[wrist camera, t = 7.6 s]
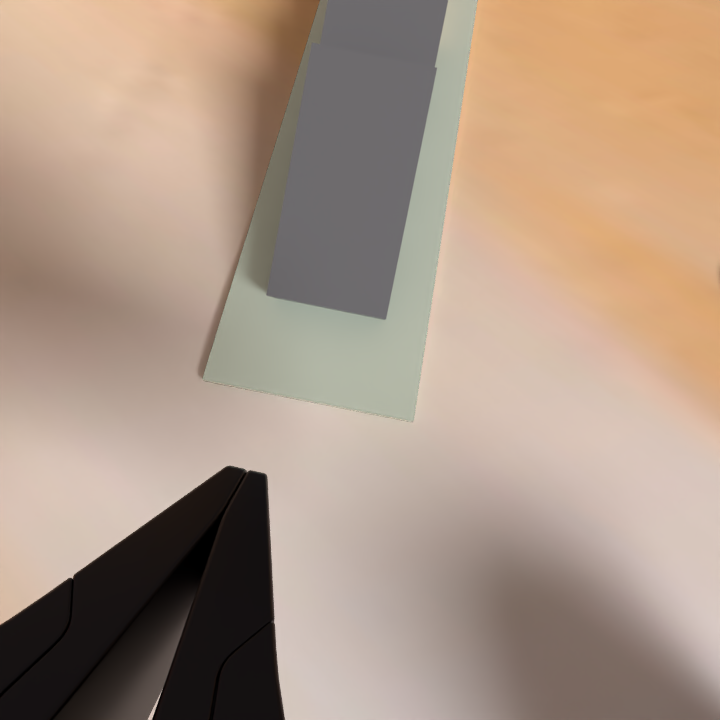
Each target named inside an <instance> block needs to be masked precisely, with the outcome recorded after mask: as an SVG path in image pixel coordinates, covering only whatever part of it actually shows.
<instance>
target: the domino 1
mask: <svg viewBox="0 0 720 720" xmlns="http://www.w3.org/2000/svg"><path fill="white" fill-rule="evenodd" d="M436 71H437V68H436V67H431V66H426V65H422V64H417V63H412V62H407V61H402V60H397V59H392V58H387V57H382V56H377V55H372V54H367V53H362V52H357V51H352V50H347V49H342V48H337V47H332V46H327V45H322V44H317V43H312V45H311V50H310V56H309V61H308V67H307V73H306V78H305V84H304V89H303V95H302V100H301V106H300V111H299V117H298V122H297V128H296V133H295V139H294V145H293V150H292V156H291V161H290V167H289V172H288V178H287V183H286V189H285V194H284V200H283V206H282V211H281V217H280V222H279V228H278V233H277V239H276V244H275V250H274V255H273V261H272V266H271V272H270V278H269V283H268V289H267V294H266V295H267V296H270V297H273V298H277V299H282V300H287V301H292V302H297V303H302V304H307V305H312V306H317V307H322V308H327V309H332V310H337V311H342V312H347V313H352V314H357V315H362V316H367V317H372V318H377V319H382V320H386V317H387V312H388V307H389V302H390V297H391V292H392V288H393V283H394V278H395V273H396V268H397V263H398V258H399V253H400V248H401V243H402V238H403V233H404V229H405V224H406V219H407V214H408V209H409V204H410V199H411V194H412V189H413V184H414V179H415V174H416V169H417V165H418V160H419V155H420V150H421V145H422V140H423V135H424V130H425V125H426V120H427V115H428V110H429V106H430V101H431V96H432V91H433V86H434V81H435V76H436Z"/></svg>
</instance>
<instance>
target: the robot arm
mask: <svg viewBox="0 0 720 720" xmlns="http://www.w3.org/2000/svg"><path fill="white" fill-rule="evenodd" d="M162 689H163V690H162ZM161 691H162V693H161ZM160 693H161V696H160V699H159V701H158V704H157V707H156V710H155V713H154V716H153V719H152V720H285V717H284V710H283V704H282V697H281V690H280V684H279V676H278V664H277V652H276V636H275V624H274V600H273V580H272V560H271V540H270V520H269V500H268V480H267V475H266V474H265V473H260V472H256V471H252V470H250V471H248V472H247V471H246V470H245V469H243V468H238V467H234V466H227V467H225V468H223V469H222V470H221V471H219V472H218V473H216V474H215V475H213V476H212V477H211V478H209V479H208V480H206V481H205V482H204V483H202V484H201V485H199V486H198V487H197V488H195V489H194V490H192V491H191V492H190V493H188V494H187V495H185V496H184V497H183V498H181V499H180V500H178V501H177V502H176V503H174V504H173V505H171V506H170V507H168V508H167V509H166V510H164V511H163V512H161V513H160V514H159V515H157V516H156V517H154V518H153V519H152V520H150V521H149V522H147V523H146V524H145V525H143V526H142V527H140V528H139V529H138V530H136V531H135V532H133V533H132V534H131V535H129V536H128V537H126V538H125V539H124V540H122V541H121V542H119V543H118V544H116V545H115V546H114V547H112V548H111V549H109V550H108V551H107V552H105V553H104V554H102V555H101V556H100V557H98V558H97V559H95V560H94V561H93V562H91V563H90V564H88V565H87V566H86V567H84V568H83V569H81V570H80V571H79V572H77V573H76V574H74V576H73V579H72V578H68V579H67V580H66V581H64V582H63V583H61V584H60V585H59V586H57V587H56V588H54V589H53V590H51V591H50V592H49V593H47V594H46V595H44V596H43V597H41V598H40V599H38V600H37V601H36V602H34V603H33V604H31V605H30V606H28V607H27V608H25V609H24V610H22V611H21V612H19V613H18V614H16V615H15V616H13V617H12V618H10V619H9V620H7V621H6V622H4V623H3V624H1V625H0V720H147V719H148V717H149V715H150V713H151V711H152V709H153V707H154V705H155V703H156V701H157V699H158V697H159V695H160Z"/></svg>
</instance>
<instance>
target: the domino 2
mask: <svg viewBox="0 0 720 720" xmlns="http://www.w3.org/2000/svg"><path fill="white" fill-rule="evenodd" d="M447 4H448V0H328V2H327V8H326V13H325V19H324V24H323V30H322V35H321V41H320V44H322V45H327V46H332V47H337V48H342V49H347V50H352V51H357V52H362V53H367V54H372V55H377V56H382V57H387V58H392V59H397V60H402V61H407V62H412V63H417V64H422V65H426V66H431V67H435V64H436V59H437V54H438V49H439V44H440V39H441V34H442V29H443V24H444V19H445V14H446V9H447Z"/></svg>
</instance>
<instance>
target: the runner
mask: <svg viewBox="0 0 720 720" xmlns="http://www.w3.org/2000/svg"><path fill="white" fill-rule="evenodd" d="M477 1H478V0H448V4H447V9H446V14H445V19H444V24H443V29H442V34H441V39H440V44H439V49H438V54H437V59H436V64H435V67H436V68H437V71H436V76H435V81H434V86H433V91H432V96H431V101H430V106H429V110H428V115H427V120H426V125H425V130H424V135H423V140H422V145H421V150H420V155H419V160H418V165H417V169H416V174H415V179H414V184H413V189H412V194H411V199H410V204H409V209H408V214H407V219H406V224H405V229H404V233H403V238H402V243H401V248H400V253H399V258H398V263H397V268H396V273H395V278H394V283H393V288H392V292H391V297H390V302H389V307H388V312H387V317H386V320H382V319H377V318H372V317H367V316H362V315H357V314H352V313H347V312H342V311H337V310H332V309H327V308H322V307H317V306H312V305H307V304H302V303H297V302H292V301H287V300H282V299H277V298H273V297H270V296H267V295H266V294H267V289H268V283H269V278H270V272H271V266H272V261H273V255H274V250H275V244H276V239H277V233H278V228H279V222H280V217H281V211H282V206H283V200H284V194H285V189H286V183H287V178H288V172H289V167H290V161H291V156H292V150H293V145H294V139H295V133H296V128H297V122H298V117H299V111H300V106H301V100H302V95H303V89H304V84H305V78H306V73H307V67H308V61H309V56H310V50H311V45H312V43H317V44H320V41H321V35H322V30H323V24H324V19H325V13H326V8H327V2H328V0H320V2H319V5H318V8H317V12H316V15H315V18H314V21H313V24H312V28H311V31H310V34H309V37H308V41H307V44H306V47H305V50H304V53H303V57H302V60H301V63H300V66H299V69H298V73H297V76H296V79H295V82H294V86H293V89H292V92H291V95H290V98H289V102H288V105H287V108H286V111H285V114H284V118H283V121H282V124H281V127H280V131H279V134H278V137H277V140H276V143H275V147H274V150H273V153H272V156H271V159H270V163H269V166H268V169H267V172H266V176H265V179H264V182H263V185H262V188H261V192H260V195H259V198H258V201H257V204H256V208H255V211H254V214H253V217H252V221H251V224H250V227H249V230H248V233H247V237H246V240H245V243H244V246H243V249H242V253H241V256H240V259H239V262H238V266H237V269H236V272H235V275H234V278H233V282H232V285H231V288H230V291H229V294H228V298H227V301H226V304H225V307H224V311H223V314H222V317H221V320H220V323H219V327H218V330H217V333H216V336H215V339H214V343H213V346H212V349H211V352H210V356H209V359H208V362H207V365H206V368H205V372H204V375H203V378H202V379H203V380H204V381H207V382H212V383H217V384H222V385H228V386H233V387H238V388H243V389H248V390H253V391H258V392H263V393H268V394H273V395H278V396H283V397H288V398H293V399H298V400H303V401H308V402H313V403H318V404H323V405H328V406H333V407H338V408H343V409H348V410H353V411H358V412H363V413H368V414H373V415H378V416H383V417H388V418H393V419H399V420H404V421H409V422H413V421H414V415H415V409H416V402H417V396H418V389H419V383H420V376H421V369H422V363H423V356H424V350H425V343H426V337H427V330H428V323H429V317H430V310H431V304H432V297H433V290H434V284H435V277H436V271H437V264H438V258H439V251H440V244H441V238H442V231H443V225H444V218H445V212H446V205H447V198H448V192H449V185H450V179H451V172H452V165H453V159H454V152H455V146H456V139H457V133H458V126H459V119H460V113H461V106H462V100H463V93H464V87H465V80H466V73H467V67H468V60H469V54H470V47H471V40H472V34H473V27H474V21H475V14H476V8H477Z"/></svg>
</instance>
